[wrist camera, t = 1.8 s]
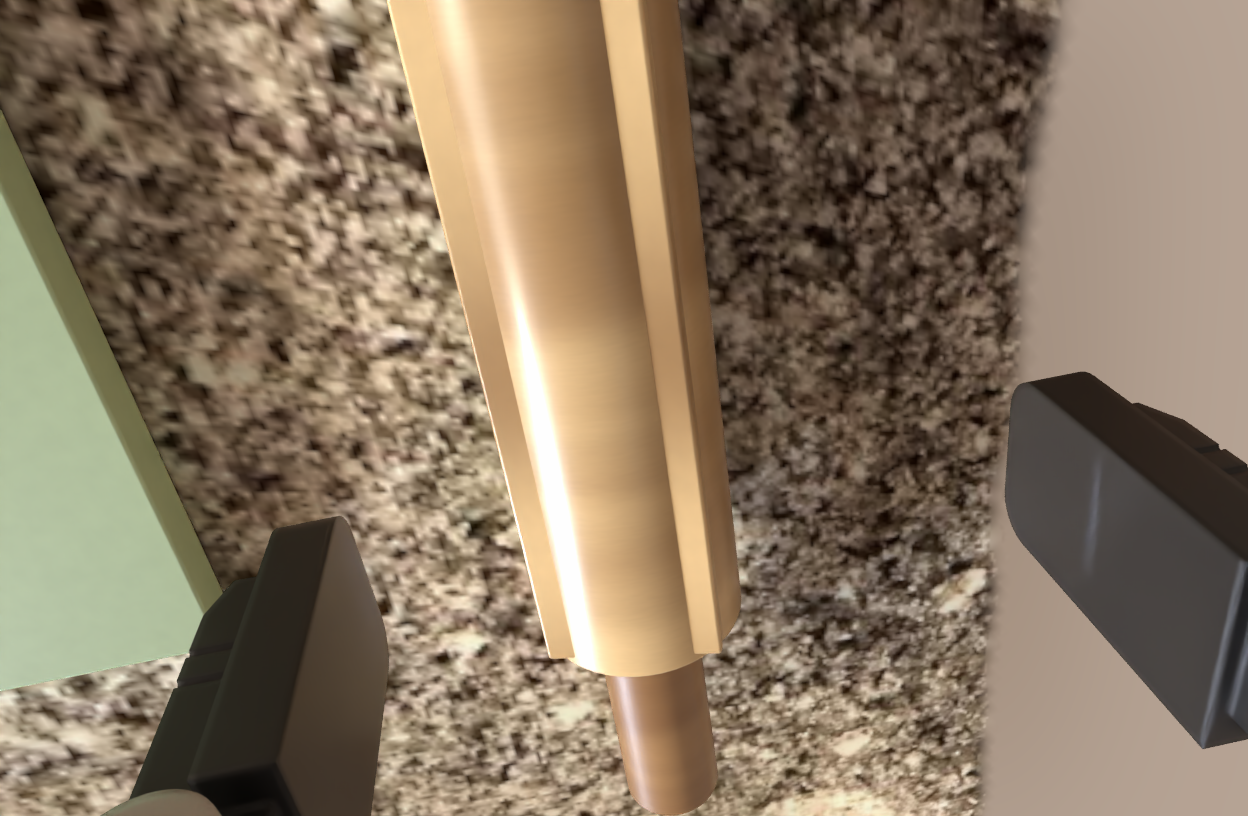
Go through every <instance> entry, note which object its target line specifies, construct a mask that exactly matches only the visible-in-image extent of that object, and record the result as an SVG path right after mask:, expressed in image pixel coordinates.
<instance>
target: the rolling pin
mask: <svg viewBox="0 0 1248 816" xmlns="http://www.w3.org/2000/svg"><path fill="white" fill-rule="evenodd" d="M387 4H388V8H389V12H390V16H391V21H392V25H393V29H394V33H395V37H396V41H397V45H398V49H399V53H400V57H401V61H402V65H403V69H404V73H405V77H406V81H407V85H408V89H409V93H410V97H411V101H412V105H413V109H414V113H415V117H416V122H417V126H418V130H419V134H420V138H421V142H422V146H423V150H424V154H425V158H426V162H427V166H428V170H429V174H430V178H431V182H432V186H433V190H434V194H435V198H436V202H437V206H438V210H439V214H440V218H441V222H442V227H443V231H444V235H445V239H446V243H447V247H448V251H449V255H450V259H451V263H452V267H453V271H454V275H455V279H456V283H457V287H458V291H459V295H460V299H461V303H462V307H463V311H464V315H465V319H466V323H467V328H468V332H469V336H470V340H471V344H472V348H473V352H474V356H475V360H476V364H477V368H478V372H479V376H480V380H481V384H482V388H483V392H484V396H485V400H486V404H487V408H488V412H489V416H490V420H491V424H492V429H493V433H494V437H495V441H496V445H497V449H498V453H499V457H500V461H501V465H502V469H503V473H504V477H505V481H506V485H507V489H508V493H509V497H510V501H511V505H512V509H513V513H514V517H515V521H516V525H517V529H518V534H519V538H520V542H521V546H522V550H523V554H524V558H525V562H526V566H527V570H528V574H529V578H530V582H531V586H532V590H533V594H534V598H535V602H536V606H537V610H538V614H539V618H540V622H541V626H542V630H543V635H544V639H545V643H546V647H547V651H548V655H549V657H550V658H552V659H557V658H567V659H569V660H570V661H572V662H573V663H575V664H577V665H579V666H580V667H582V668H585V669H587V670H590V671H593V672H596V673H600V674H604V675H605V677H606V682H607V687H608V691H609V696H610V701H611V706H612V710H613V715H614V720H615V725H616V729H617V734H618V739H619V744H620V748H621V753H622V758H623V763H624V767H625V772H626V777H627V782H628V786H629V790H630V792H631V794H632V796H633V798H634V799H635V800H636V801H637V803H638V804H640V805H641V806H642V807H643V808H645V809H647V810H649V811H651V812H653V813H656V814H661V815H679V814H684V813H687V812H690V811H692V810H694V809H696V808H698V807H699V806H700V805H702V804H703V803H704V802H705V801H706V800H707V799H708V798H709V797H710V796H711V794H712V792H713V791H714V789H715V786H716V783H717V778H718V770H717V763H716V756H715V748H714V741H713V734H712V727H711V720H710V712H709V705H708V698H707V691H706V683H705V676H704V669H703V662H702V657H703V656H705V655H706V654H708V653H720V652H721V651H722V642H723V640H724V639H725V637H726V636H727V635H728V634H729V632H730V631H731V629H732V628H733V626H734V624H735V622H736V620H737V618H738V615H739V611H740V608H741V591H740V581H739V572H738V563H737V553H736V544H735V534H734V525H733V515H732V506H731V496H730V487H729V477H728V468H727V459H726V449H725V440H724V430H723V421H722V411H721V402H720V392H719V383H718V374H717V364H716V355H715V345H714V336H713V326H712V317H711V307H710V298H709V288H708V279H707V270H706V260H705V251H704V241H703V232H702V222H701V213H700V203H699V194H698V184H697V175H696V166H695V156H694V147H693V137H692V128H691V118H690V109H689V99H688V90H687V81H686V71H685V62H684V52H683V43H682V33H681V24H680V14H679V5H678V0H387Z"/></svg>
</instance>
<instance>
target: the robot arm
mask: <svg viewBox="0 0 1248 816" xmlns="http://www.w3.org/2000/svg"><path fill="white" fill-rule="evenodd" d="M1005 502H1006V508H1007V512H1008V516H1009V519H1010V522H1011V525H1012V527H1013V529H1014V531H1015V533H1016V535H1017V537H1018V538H1019V540H1020V541H1021V543H1022V544H1023V545H1024V546H1025V547H1026V548H1027V550H1028V551H1029V552H1030V553H1031V554H1032V555H1033V556H1034V557H1035V559H1036V560H1037V561H1038V562H1039V563H1040V564H1041V566H1042V567H1043V568H1044V569H1045V570H1046V571H1047V572H1048V574H1050V576H1051V577H1052V578H1053V579H1054V580H1055V582H1056V583H1057V584H1058V585H1059V586H1060V587H1061V588H1062V589H1063V591H1064V592H1065V593H1066V594H1067V595H1068V596H1069V597H1070V598H1071V600H1072V601H1073V602H1074V603H1075V604H1076V605H1077V607H1079V609H1080V610H1081V611H1082V612H1083V613H1084V614H1085V616H1086V617H1087V618H1088V619H1089V620H1090V621H1091V623H1092V624H1093V625H1094V626H1095V627H1096V628H1097V629H1098V630H1099V632H1100V633H1101V634H1102V635H1103V636H1104V637H1105V638H1106V640H1107V641H1108V642H1109V643H1110V644H1111V645H1112V646H1113V648H1114V649H1115V650H1116V651H1117V652H1118V653H1119V654H1120V656H1121V657H1122V658H1123V659H1124V660H1125V661H1126V662H1127V664H1128V665H1129V666H1130V667H1131V668H1132V669H1133V670H1134V671H1135V673H1136V674H1137V675H1138V676H1139V677H1140V678H1141V679H1142V681H1143V682H1144V683H1145V684H1146V685H1147V686H1148V687H1149V689H1150V690H1151V691H1152V692H1153V693H1154V694H1155V695H1156V697H1157V698H1158V699H1159V700H1160V701H1161V702H1162V703H1163V704H1164V706H1165V707H1166V708H1167V709H1168V710H1169V711H1170V712H1171V714H1172V715H1173V716H1174V717H1175V718H1176V719H1177V720H1178V722H1179V723H1180V724H1181V725H1182V726H1183V727H1184V728H1185V730H1186V731H1187V732H1188V733H1189V734H1190V735H1191V736H1192V738H1193V739H1194V740H1195V741H1196V742H1197V743H1198V744H1199V745H1200V747H1201V748H1202V749H1206V748H1210V747H1215V746H1219V745H1224V744H1228V743H1233V742H1237V741H1242V740H1246V739H1248V467H1247V464H1246V463H1245V462H1243V461H1242V460H1240V459H1239V458H1237V457H1236V456H1234V455H1233V454H1232V453H1230V452H1229V451H1227V450H1226V449H1223V450H1220V449H1219V444H1218V443H1216V442H1215V441H1213V440H1212V439H1210V438H1209V437H1208V436H1206V435H1204V434H1203V433H1202V432H1200V431H1199V430H1198V429H1196V428H1195V427H1193V426H1192V425H1190V424H1189V423H1188V422H1186V421H1185V420H1183V419H1180V418H1177V417H1174V416H1172V415H1169V414H1167V413H1163V412H1161V411H1158V410H1156V409H1153V408H1151V407H1148V406H1145V405H1143V404H1140V403H1133V404H1132V403H1130V402H1129V401H1128V400H1126V399H1125V398H1124V397H1122V396H1121V395H1120V394H1118V393H1117V392H1115V391H1114V390H1113V389H1111V388H1110V387H1109V386H1107V385H1106V384H1104V383H1103V382H1102V381H1100V380H1099V379H1098V378H1096V377H1095V376H1093V375H1092V374H1090V373H1087V372H1077V373H1072V374H1067V375H1062V376H1057V377H1051V378H1046V379H1041V380H1036V381H1031V382H1026V383H1022V384H1020V385H1018V386H1017V388H1016V389H1015V390H1014V393H1013V395H1012V399H1011V408H1010V423H1009V437H1008V452H1007V467H1006V482H1005ZM189 653H190V658H186V659H185V662H184V664H183V667H182V669H181V672H180V674H179V677H178V679H177V683H178V688H175V689H173V692H172V694H171V697H170V699H169V702H168V704H167V707H166V709H165V712H164V714H163V717H162V719H161V722H160V724H159V727H158V729H157V732H156V734H155V737H154V739H153V742H152V744H151V747H150V749H149V752H148V754H147V757H146V759H145V762H144V764H143V766H142V769H141V771H140V774H139V776H138V779H137V781H136V784H135V786H134V789H133V791H132V794H131V796H130V799H129V800H128V801H126V802H124V803H122V804H120V805H118V806H116V807H114V808H113V809H111V810H109V811H108V812H106V813H104V814H103V815H101V816H371V810H372V801H373V793H374V785H375V777H376V769H377V761H378V753H379V744H380V736H381V728H382V720H383V712H384V704H385V695H386V687H387V679H388V670H389V655H388V644H387V637H386V632H385V627H384V623H383V619H382V616H381V613H380V610H379V607H378V605H377V602H376V599H375V596H374V593H373V590H372V588H371V585H370V582H369V579H368V576H367V573H366V571H365V568H364V565H363V562H362V559H361V556H360V553H359V551H358V548H357V545H356V542H355V539H354V536H353V534H352V531H351V529H350V527H349V524H348V523H347V521H346V520H345V519H344V518H343V517H342V516H336V517H331V518H326V519H321V520H316V521H311V522H306V523H301V524H296V525H291V526H286V527H281V528H276V529H275V530H274V531H273V532H272V534H271V536H270V539H269V542H268V545H267V548H266V551H265V554H264V557H263V560H262V563H261V566H260V568H259V571H258V574H257V576H256V577H251V578H246V579H241V580H236V581H234V582H233V583H232V584H231V585H230V586H229V587H228V588H227V589H226V591H225V592H224V593H223V594H222V595H221V596H220V597H219V598H218V599H217V601H216V602H215V603H214V604H213V605H212V606H211V607H210V608H209V609H208V610H207V612H206V613H205V614H204V615H203V617H202V619H201V622H200V624H199V627H198V629H197V632H196V634H195V637H194V639H193V642H192V644H191V647H190V649H189Z"/></svg>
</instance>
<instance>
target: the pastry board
mask: <svg viewBox="0 0 1248 816" xmlns="http://www.w3.org/2000/svg"><path fill="white" fill-rule="evenodd" d="M222 594H223V592H222V590H221V587H220V585H219V583H218V581H217V579H216V577H215V574H214V572H213V570H212V568H211V566H210V563H209V561H208V559H207V557H206V555H205V553H204V550H203V548H202V546H201V544H200V542H199V540H198V537H197V535H196V533H195V531H194V529H193V526H192V524H191V522H190V520H189V518H188V516H187V513H186V511H185V509H184V507H183V505H182V503H181V500H180V498H179V496H178V494H177V492H176V490H175V487H174V485H173V483H172V481H171V479H170V476H169V474H168V472H167V470H166V468H165V466H164V463H163V461H162V459H161V457H160V455H159V453H158V450H157V448H156V446H155V444H154V442H153V439H152V437H151V435H150V433H149V431H148V429H147V426H146V424H145V422H144V420H143V418H142V416H141V413H140V411H139V409H138V407H137V405H136V402H135V400H134V398H133V396H132V394H131V392H130V389H129V387H128V385H127V383H126V381H125V379H124V376H123V374H122V372H121V370H120V368H119V365H118V363H117V361H116V359H115V357H114V355H113V352H112V350H111V348H110V346H109V344H108V342H107V339H106V337H105V335H104V333H103V331H102V329H101V326H100V324H99V322H98V320H97V318H96V315H95V313H94V311H93V309H92V307H91V305H90V302H89V300H88V298H87V296H86V294H85V292H84V289H83V287H82V285H81V283H80V281H79V278H78V276H77V274H76V272H75V270H74V268H73V265H72V263H71V261H70V259H69V257H68V255H67V252H66V250H65V248H64V246H63V244H62V241H61V239H60V237H59V235H58V233H57V231H56V228H55V226H54V224H53V222H52V220H51V218H50V215H49V213H48V211H47V209H46V207H45V204H44V202H43V200H42V198H41V196H40V194H39V191H38V189H37V187H36V185H35V183H34V181H33V178H32V176H31V174H30V172H29V170H28V168H27V165H26V163H25V161H24V159H23V157H22V154H21V152H20V150H19V148H18V146H17V144H16V141H15V139H14V137H13V135H12V133H11V131H10V128H9V126H8V124H7V122H6V120H5V117H4V115H3V113H2V111H1V109H0V691H4V690H9V689H14V688H19V687H24V686H29V685H34V684H39V683H44V682H48V681H53V680H58V679H63V678H68V677H73V676H78V675H83V674H88V673H93V672H98V671H103V670H108V669H113V668H117V667H122V666H127V665H132V664H137V663H142V662H147V661H152V660H157V659H162V658H167V657H172V656H177V655H182V654H186V653H189V649H190V647H191V644H192V642H193V639H194V637H195V634H196V632H197V629H198V627H199V624H200V622H201V619H202V617H203V615H204V614H205V613H206V612H207V610H208V609H209V608H210V607H211V606H212V605H213V604H214V603H215V602H216V601H217V599H218V598H219V597H220V596H221V595H222Z"/></svg>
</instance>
